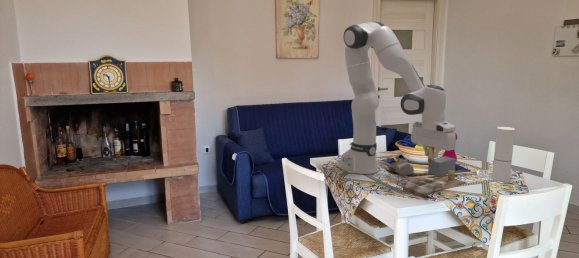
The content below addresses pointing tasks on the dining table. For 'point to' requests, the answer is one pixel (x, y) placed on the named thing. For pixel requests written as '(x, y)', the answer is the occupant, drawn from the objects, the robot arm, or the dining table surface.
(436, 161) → the housing
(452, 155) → the pepper mill
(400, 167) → the ceramic sculpture
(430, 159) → the brass pin
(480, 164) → the dining table surface
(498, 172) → the cylindrical container
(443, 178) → the board
